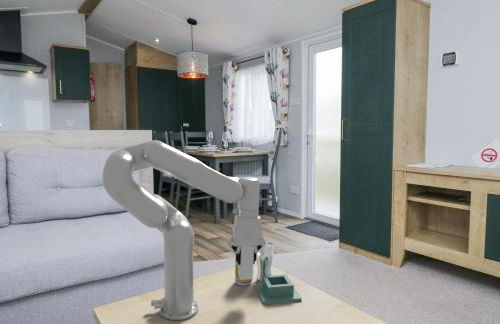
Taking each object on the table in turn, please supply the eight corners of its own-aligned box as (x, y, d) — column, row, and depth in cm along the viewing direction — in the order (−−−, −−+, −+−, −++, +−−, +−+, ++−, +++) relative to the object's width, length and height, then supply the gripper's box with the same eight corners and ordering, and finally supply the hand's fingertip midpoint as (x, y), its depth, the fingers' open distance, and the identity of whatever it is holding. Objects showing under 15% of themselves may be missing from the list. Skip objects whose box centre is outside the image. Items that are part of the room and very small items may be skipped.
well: (263, 304, 126) (263, 290, 125) (255, 286, 140) (255, 274, 139) (301, 300, 129) (301, 287, 128) (289, 283, 142) (290, 271, 142)
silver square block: (240, 279, 125) (241, 243, 124) (238, 274, 129) (239, 239, 128) (252, 279, 126) (254, 243, 124) (250, 273, 130) (251, 239, 129)
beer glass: (271, 283, 142) (272, 246, 141) (254, 281, 144) (254, 245, 142) (273, 276, 149) (274, 241, 147) (257, 274, 150) (257, 239, 149)
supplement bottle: (233, 279, 145) (233, 249, 144) (248, 277, 147) (249, 247, 146) (237, 287, 139) (237, 255, 137) (253, 285, 141) (254, 253, 139)
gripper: (225, 215, 120) (223, 268, 122) (273, 215, 123) (271, 266, 125) (222, 210, 127) (220, 260, 129) (268, 210, 130) (266, 258, 132)
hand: (245, 262), depth 127 cm, fingers closed on silver square block, 4 cm apart
